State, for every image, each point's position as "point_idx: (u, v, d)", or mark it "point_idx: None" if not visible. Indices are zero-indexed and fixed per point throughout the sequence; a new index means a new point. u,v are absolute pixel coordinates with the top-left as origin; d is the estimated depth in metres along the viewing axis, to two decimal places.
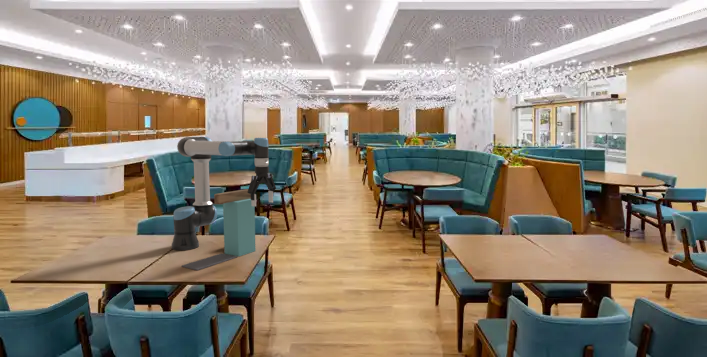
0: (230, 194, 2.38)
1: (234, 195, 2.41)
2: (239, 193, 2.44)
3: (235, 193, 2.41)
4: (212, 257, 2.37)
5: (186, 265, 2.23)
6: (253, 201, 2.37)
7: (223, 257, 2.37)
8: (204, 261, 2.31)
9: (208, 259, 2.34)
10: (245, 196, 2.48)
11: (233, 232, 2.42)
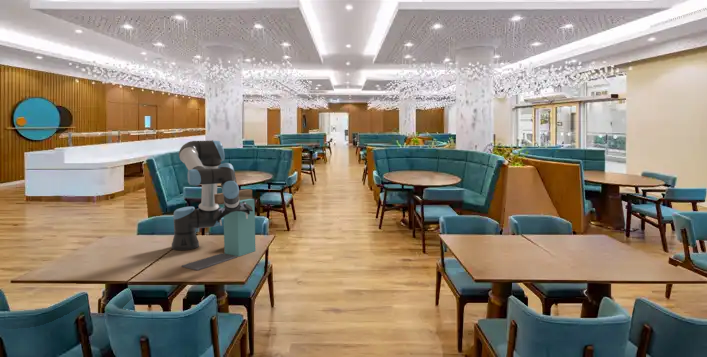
0: None
1: None
2: (239, 193, 2.44)
3: None
4: (212, 257, 2.37)
5: (186, 265, 2.23)
6: (219, 221, 2.36)
7: (223, 257, 2.37)
8: (204, 261, 2.31)
9: (208, 259, 2.34)
10: (245, 196, 2.48)
11: (233, 232, 2.42)
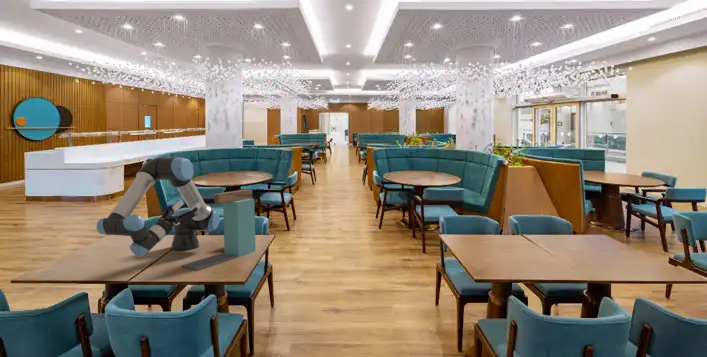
0: (230, 194, 2.38)
1: (234, 195, 2.41)
2: (239, 193, 2.44)
3: (235, 193, 2.41)
4: (212, 257, 2.37)
5: (186, 265, 2.23)
6: None
7: (223, 257, 2.37)
8: (204, 261, 2.31)
9: (208, 259, 2.34)
10: (245, 196, 2.48)
11: (233, 232, 2.42)
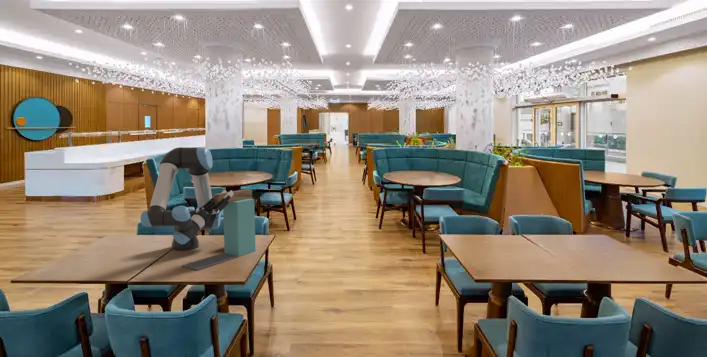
0: None
1: (234, 195, 2.41)
2: (239, 193, 2.44)
3: (235, 193, 2.41)
4: (212, 257, 2.37)
5: (186, 265, 2.23)
6: None
7: (223, 257, 2.37)
8: (204, 261, 2.31)
9: (208, 259, 2.34)
10: (245, 196, 2.48)
11: (233, 232, 2.42)
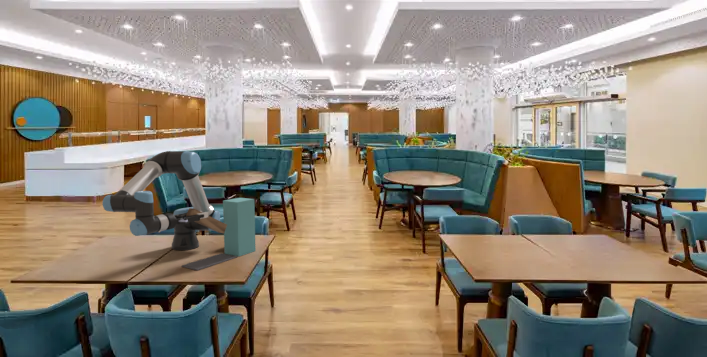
0: None
1: (208, 219, 2.26)
2: (213, 220, 2.29)
3: (210, 217, 2.27)
4: (212, 257, 2.37)
5: (186, 265, 2.23)
6: None
7: (223, 257, 2.37)
8: (204, 261, 2.31)
9: (208, 259, 2.34)
10: (218, 227, 2.32)
11: (233, 232, 2.42)
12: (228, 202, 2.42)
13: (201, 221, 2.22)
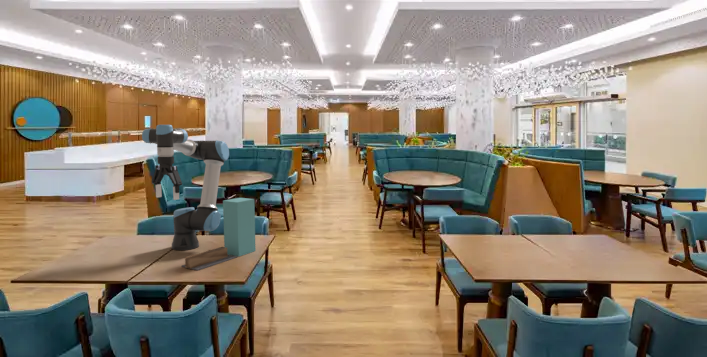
0: (202, 256, 2.24)
1: (207, 256, 2.27)
2: (213, 253, 2.30)
3: (208, 254, 2.27)
4: None
5: None
6: None
7: None
8: None
9: None
10: (219, 256, 2.34)
11: (233, 232, 2.42)
12: (228, 202, 2.42)
13: (202, 263, 2.24)
